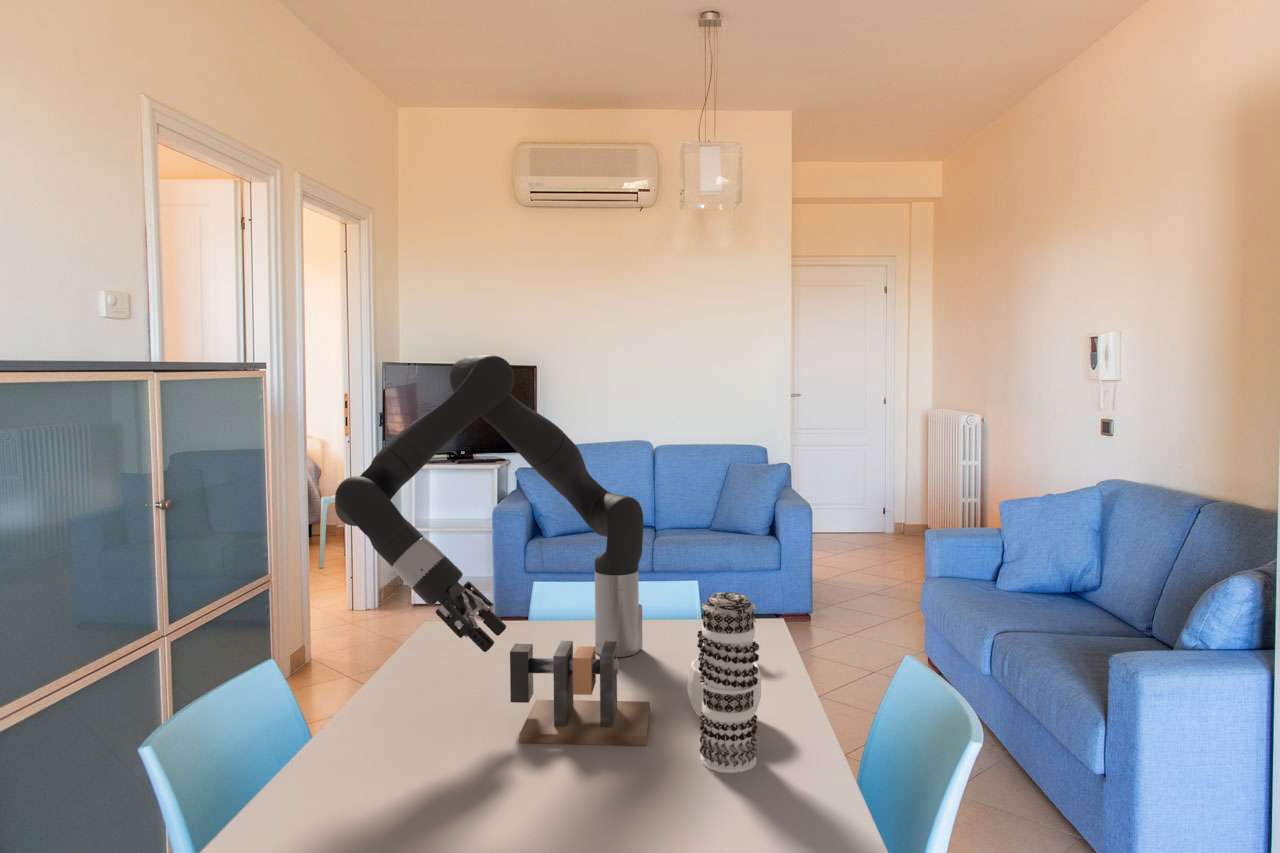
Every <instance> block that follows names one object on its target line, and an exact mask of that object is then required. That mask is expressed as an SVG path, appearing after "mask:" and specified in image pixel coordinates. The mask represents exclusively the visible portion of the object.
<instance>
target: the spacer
mask: <svg viewBox="0 0 1280 853" xmlns="http://www.w3.org/2000/svg"><path fill="white" fill-rule="evenodd" d="M596 656H597V654H596V647H595V646H592V645H591V646H586V645H585V646H583V645H581V646H579V645H578V646H577V648H576V649H575V652H574V653H573V696H574V695H576V696H578V695H580V696H581V695H583V696H584V695H585V696H586V695H587V696H588V695H589V696H592V695H593V691H594V688H595V685H596V682H597V674H592V662H593V660H594V659H597V657H596Z"/></svg>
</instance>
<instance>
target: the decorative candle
mask: <svg viewBox="0 0 1280 853" xmlns="http://www.w3.org/2000/svg"><path fill="white" fill-rule="evenodd" d="M701 608H702V626H701V630H698V631H697V633H696V634H697V638H698V643H697V647H698V648H699V651H700V652H699V654H698V657H697V658H698V660H699V661H700V666H699V668H698V669H699V671H701V676H700V679H701V680H700V684H701V686H702V687H703V702H702V712H701V715H700V717H699V719H700V721H701V722H700V726H699V729H700V730H701V732H700V736H699V743H700V747H699V752H700V754H701V755H700V762H701V764H702V765H703V766H704V767H706V768H707V769H709V770H711V771H714V772H718V773H720V774H721V773H723V774H739V773H745V772H747V771H750V770H752V769H753V768H754V767H756V764H757V757H756V756H757V755H758V754H757V751H758V748H757V744H758V742H757V741H758V738H757V737H756V735H755V734H756V733H757V730H758V726H757V725H756V724H757V722H758V721H757V720H758V715H757V714H756V712H755V703H754V702H753V696H754V692H753V689H755V688H756V684H757V681H758V679H757V678H756V677H755V676H754V675H755V674H757V673H758V668H757V667H755V666H754V664H753V662H754V663H756V662H758V661H759V658H760V655H759V654H758V653H756V652H757V651H759V649H760V645H759V643H757V642H756V641H755V640H754V639H755V635H756V634H755V633H756V627H755V622H754V618H755V616H754V611H755V610H756V609H757V606H756V605H755V604H754V603H752V602H751V599H750V598H749V597H748V596H746V595H745V594H743V593H739V592H729V591H727V592H726V591H725V592H717V593H714V594H711V595H710V596H709V598H708V599H707V601H705V602H704V603H702V605H701ZM703 657H704V658H703ZM703 668H704V669H703ZM738 772H739V773H738Z"/></svg>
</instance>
